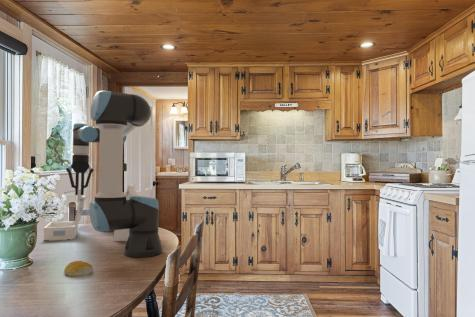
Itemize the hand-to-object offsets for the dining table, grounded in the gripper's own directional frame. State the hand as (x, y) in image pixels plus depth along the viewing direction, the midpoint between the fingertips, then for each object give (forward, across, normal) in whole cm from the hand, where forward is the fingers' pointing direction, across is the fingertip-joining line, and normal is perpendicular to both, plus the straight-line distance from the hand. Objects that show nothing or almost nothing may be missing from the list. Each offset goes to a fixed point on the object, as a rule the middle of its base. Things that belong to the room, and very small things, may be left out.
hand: (79, 201), depth 178 cm
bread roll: (+17, -6, +63) cm, 66 cm away
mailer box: (+17, +7, 0) cm, 19 cm away
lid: (+4, 0, 0) cm, 4 cm away
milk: (+17, -24, +13) cm, 32 cm away
